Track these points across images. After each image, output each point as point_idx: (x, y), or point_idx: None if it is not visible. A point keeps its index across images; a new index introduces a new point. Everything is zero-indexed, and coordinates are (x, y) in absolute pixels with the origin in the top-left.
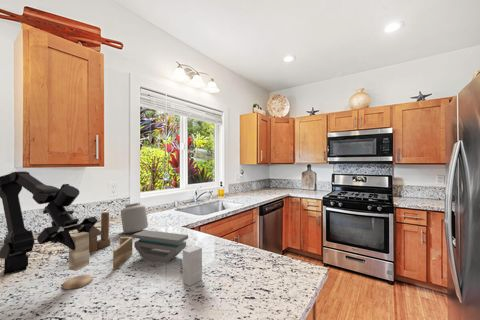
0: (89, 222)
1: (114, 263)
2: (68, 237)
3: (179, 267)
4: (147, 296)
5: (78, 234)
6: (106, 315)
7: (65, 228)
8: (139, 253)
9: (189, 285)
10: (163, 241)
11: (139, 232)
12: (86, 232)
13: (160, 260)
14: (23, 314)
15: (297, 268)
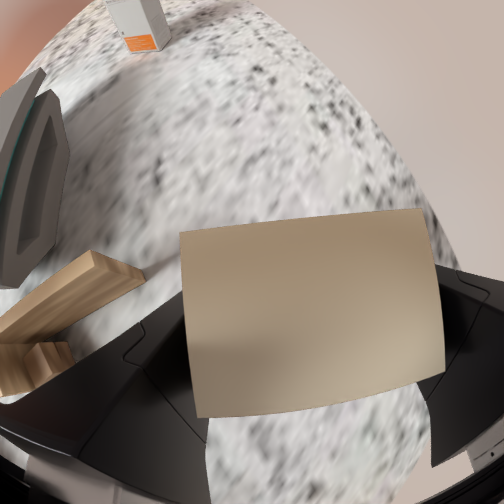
0: (5, 502)
1: (129, 271)
2: (479, 279)
3: (89, 106)
4: (239, 59)
5: (336, 313)
6: (335, 76)
7: (492, 499)
8: (37, 262)
9: (171, 35)
10: (22, 120)
11: None
12: (190, 291)
13: (61, 167)
14: (453, 258)
15: (94, 8)
